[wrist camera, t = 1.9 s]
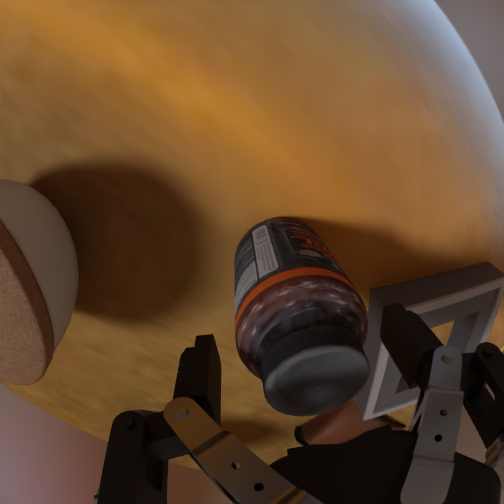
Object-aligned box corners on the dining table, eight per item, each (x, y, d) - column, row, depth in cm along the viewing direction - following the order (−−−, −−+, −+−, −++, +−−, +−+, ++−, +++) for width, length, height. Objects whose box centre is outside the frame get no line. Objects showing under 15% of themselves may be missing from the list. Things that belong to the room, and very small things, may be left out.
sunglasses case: (410, 425, 32) (404, 466, 28) (371, 429, 37) (363, 466, 33) (351, 391, 27) (338, 451, 22) (302, 396, 31) (287, 447, 27)
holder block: (370, 289, 21) (388, 313, 18) (487, 261, 21) (508, 277, 18) (354, 397, 27) (363, 420, 24) (455, 363, 27) (467, 380, 24)
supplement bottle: (337, 243, 20) (423, 356, 9) (287, 306, 21) (324, 439, 11) (266, 196, 18) (312, 295, 8) (216, 269, 20) (206, 409, 10)
